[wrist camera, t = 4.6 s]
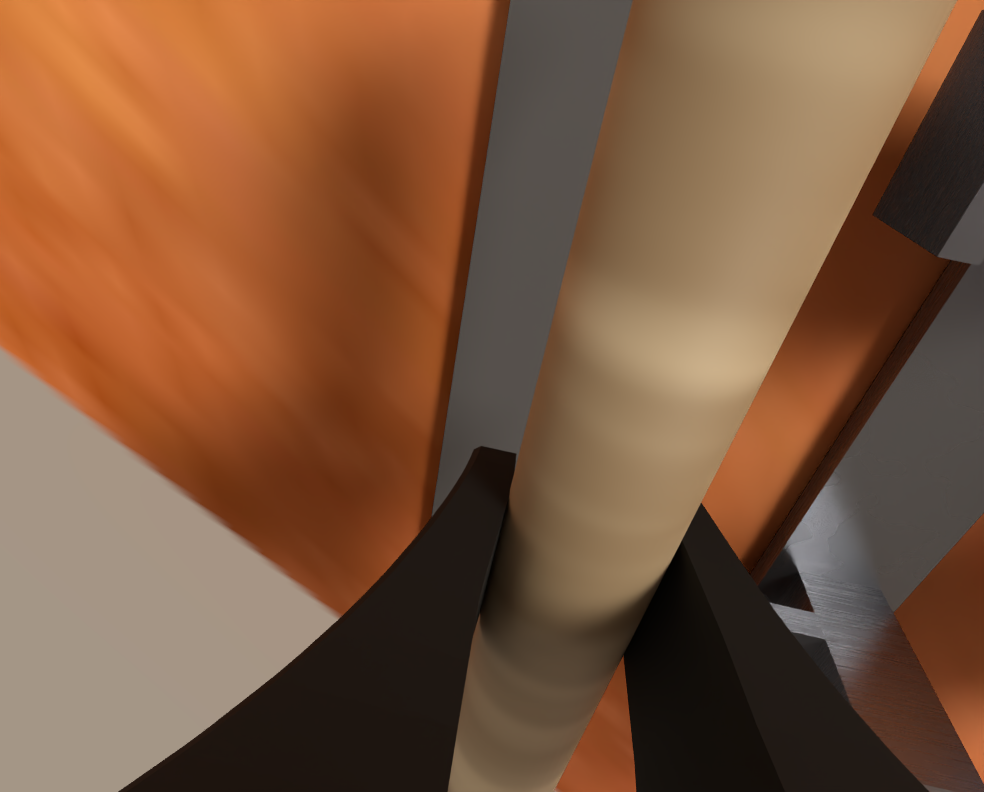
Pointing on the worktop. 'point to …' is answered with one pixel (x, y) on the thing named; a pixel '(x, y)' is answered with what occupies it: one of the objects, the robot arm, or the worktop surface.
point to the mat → (527, 215)
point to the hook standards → (903, 457)
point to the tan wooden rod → (669, 332)
